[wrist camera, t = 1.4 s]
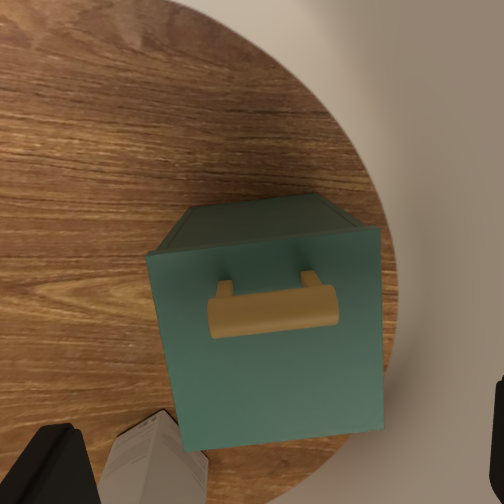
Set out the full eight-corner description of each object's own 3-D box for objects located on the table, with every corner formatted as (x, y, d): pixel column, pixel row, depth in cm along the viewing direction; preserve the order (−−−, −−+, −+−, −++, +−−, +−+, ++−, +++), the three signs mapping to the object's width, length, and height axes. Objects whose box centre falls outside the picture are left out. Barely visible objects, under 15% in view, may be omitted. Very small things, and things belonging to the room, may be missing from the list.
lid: (148, 251, 19) (117, 288, 14) (375, 224, 19) (420, 253, 14) (185, 442, 22) (170, 525, 17) (379, 419, 22) (418, 497, 17)
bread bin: (188, 207, 33) (149, 256, 19) (317, 192, 33) (374, 230, 19) (207, 324, 36) (186, 441, 22) (325, 311, 36) (379, 419, 22)
